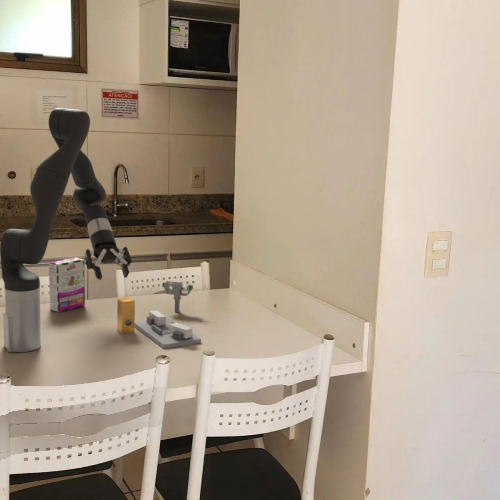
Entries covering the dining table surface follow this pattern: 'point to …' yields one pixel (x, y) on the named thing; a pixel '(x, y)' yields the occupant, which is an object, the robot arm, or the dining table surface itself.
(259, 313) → the dining table surface
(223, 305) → the dining table surface
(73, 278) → the candy bar box
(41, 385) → the dining table surface
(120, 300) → the block
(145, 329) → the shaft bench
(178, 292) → the mechanical component
